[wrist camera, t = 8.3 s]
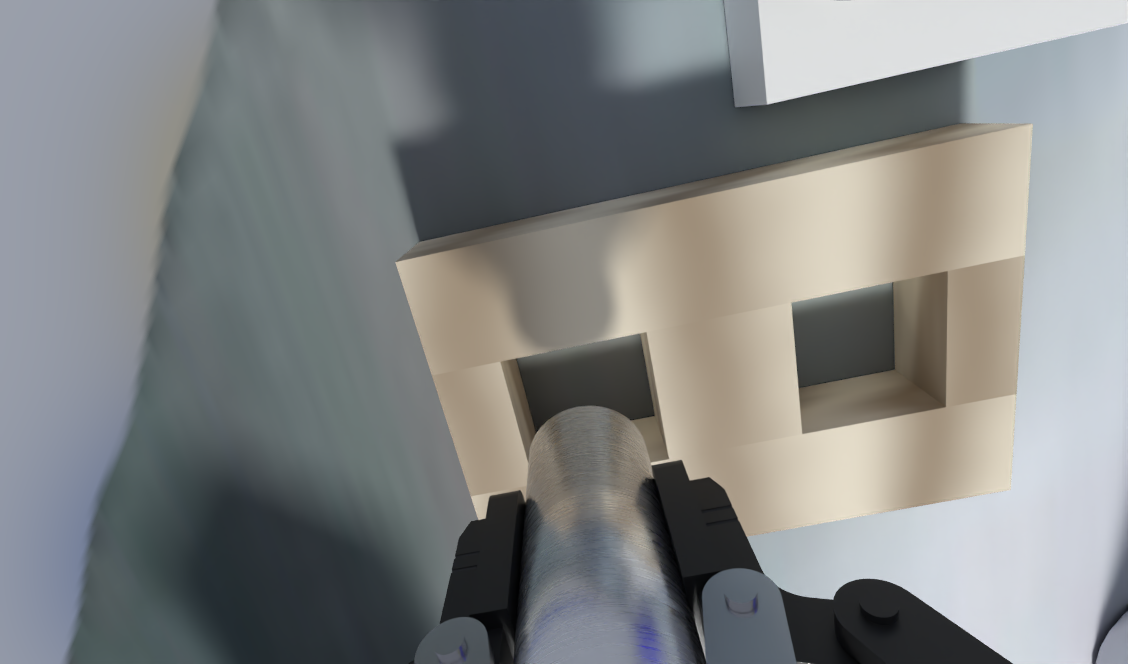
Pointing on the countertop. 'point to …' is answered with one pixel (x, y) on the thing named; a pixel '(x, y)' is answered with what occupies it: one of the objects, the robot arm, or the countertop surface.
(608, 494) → the steel pin
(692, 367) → the pin board
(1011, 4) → the block
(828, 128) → the countertop surface
